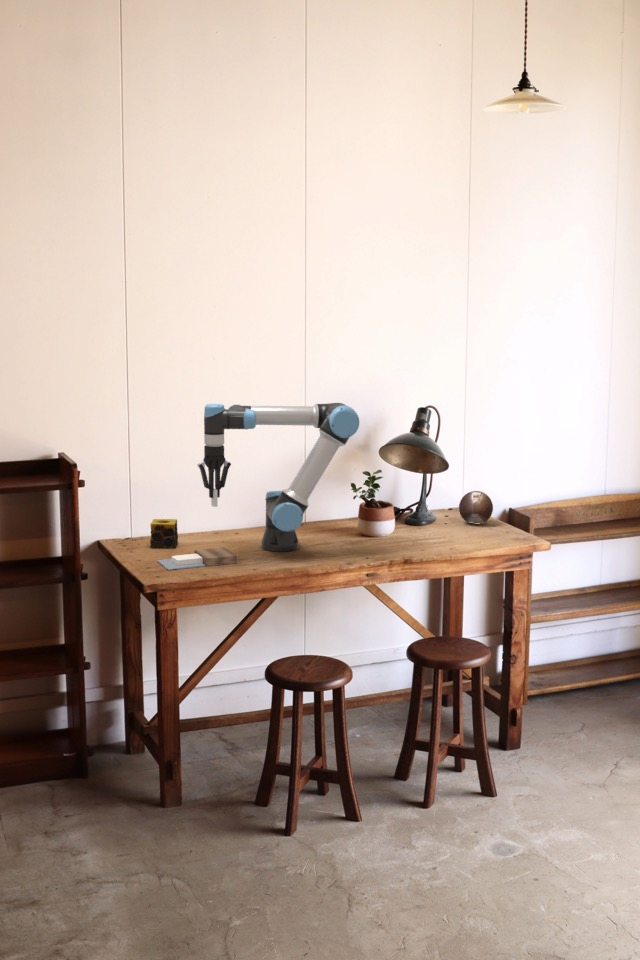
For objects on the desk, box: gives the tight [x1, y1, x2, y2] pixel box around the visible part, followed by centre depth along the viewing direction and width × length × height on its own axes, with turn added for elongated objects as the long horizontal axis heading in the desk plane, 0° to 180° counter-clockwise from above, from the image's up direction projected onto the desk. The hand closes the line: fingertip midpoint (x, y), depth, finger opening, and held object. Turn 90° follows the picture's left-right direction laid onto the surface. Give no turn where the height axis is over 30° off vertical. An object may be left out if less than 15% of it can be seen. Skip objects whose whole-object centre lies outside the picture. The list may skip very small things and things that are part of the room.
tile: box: [171, 553, 203, 566], centre depth 400 cm, size 10×7×2 cm
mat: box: [156, 558, 206, 571], centre depth 399 cm, size 14×14×1 cm
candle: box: [149, 518, 179, 549], centre depth 426 cm, size 10×10×10 cm
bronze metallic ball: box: [458, 490, 494, 524], centre depth 473 cm, size 15×15×15 cm
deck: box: [194, 547, 238, 567], centre depth 405 cm, size 12×14×3 cm
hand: (214, 505), depth 405 cm, fingers closed
